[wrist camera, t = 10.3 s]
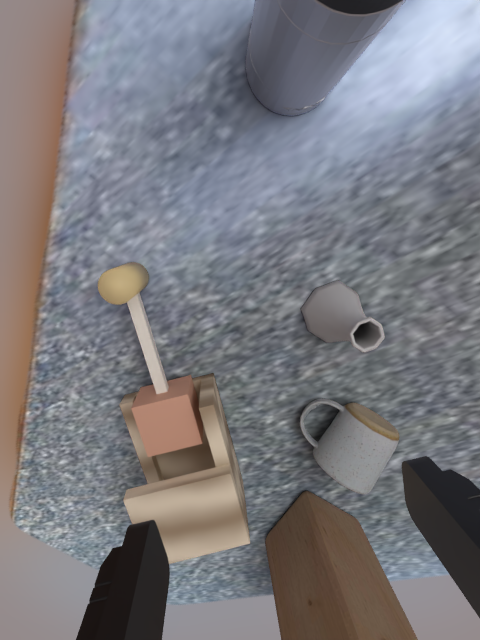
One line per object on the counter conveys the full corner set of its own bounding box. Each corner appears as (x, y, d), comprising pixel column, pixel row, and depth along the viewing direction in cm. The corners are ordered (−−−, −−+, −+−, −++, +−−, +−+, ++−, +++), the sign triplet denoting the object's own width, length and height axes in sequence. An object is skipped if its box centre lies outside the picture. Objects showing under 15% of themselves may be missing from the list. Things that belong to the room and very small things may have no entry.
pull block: (101, 269, 37) (77, 277, 31) (156, 256, 37) (144, 261, 31) (155, 430, 42) (144, 468, 36) (203, 418, 42) (201, 453, 36)
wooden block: (304, 485, 47) (367, 660, 28) (359, 516, 49) (454, 701, 30) (261, 537, 49) (292, 737, 29) (316, 565, 51) (379, 771, 31)
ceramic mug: (386, 413, 45) (418, 448, 38) (353, 463, 47) (378, 506, 39) (316, 380, 44) (336, 410, 36) (285, 433, 45) (298, 472, 38)
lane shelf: (124, 394, 42) (100, 440, 33) (213, 373, 42) (213, 412, 33) (162, 501, 46) (149, 568, 37) (242, 481, 46) (250, 543, 37)
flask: (324, 352, 43) (356, 387, 33) (289, 307, 41) (313, 330, 31) (372, 315, 42) (420, 340, 32) (339, 268, 40) (379, 280, 31)
